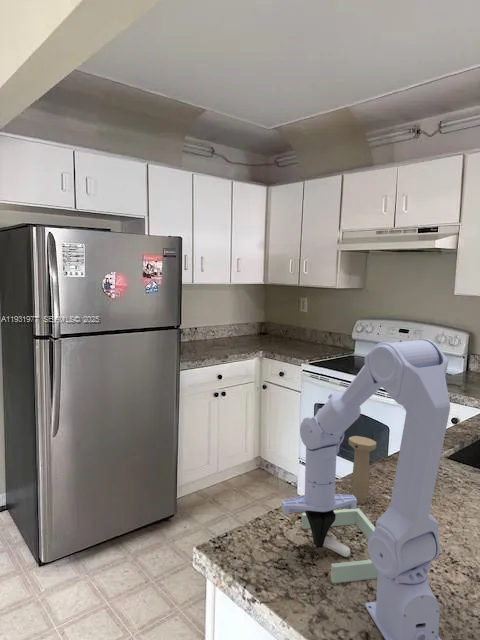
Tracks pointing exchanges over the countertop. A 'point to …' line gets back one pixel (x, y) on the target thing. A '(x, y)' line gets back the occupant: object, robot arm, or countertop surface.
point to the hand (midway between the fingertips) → (317, 544)
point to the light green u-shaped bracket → (354, 568)
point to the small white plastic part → (336, 546)
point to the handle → (361, 466)
